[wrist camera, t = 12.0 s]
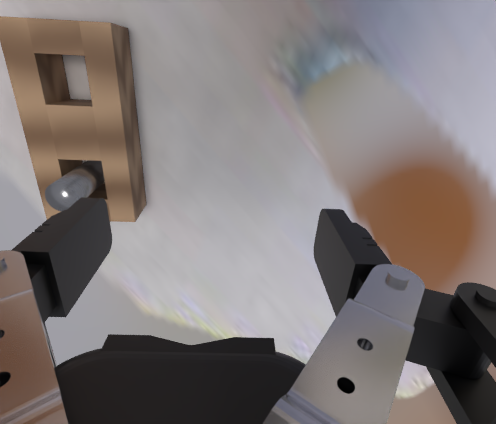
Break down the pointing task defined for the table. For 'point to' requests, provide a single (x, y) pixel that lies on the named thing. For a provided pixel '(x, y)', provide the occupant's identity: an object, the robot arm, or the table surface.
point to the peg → (75, 185)
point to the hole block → (77, 106)
